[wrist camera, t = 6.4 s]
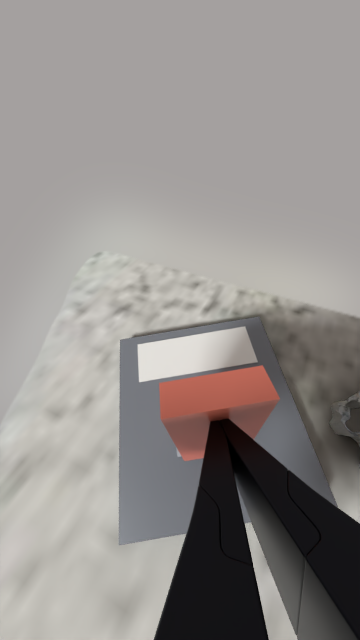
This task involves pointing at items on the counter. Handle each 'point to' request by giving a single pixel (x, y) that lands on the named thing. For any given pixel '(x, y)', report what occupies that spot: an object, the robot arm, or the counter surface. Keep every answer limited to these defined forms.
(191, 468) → the base
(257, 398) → the lever
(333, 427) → the grey lumpy stone piece
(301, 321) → the counter surface
